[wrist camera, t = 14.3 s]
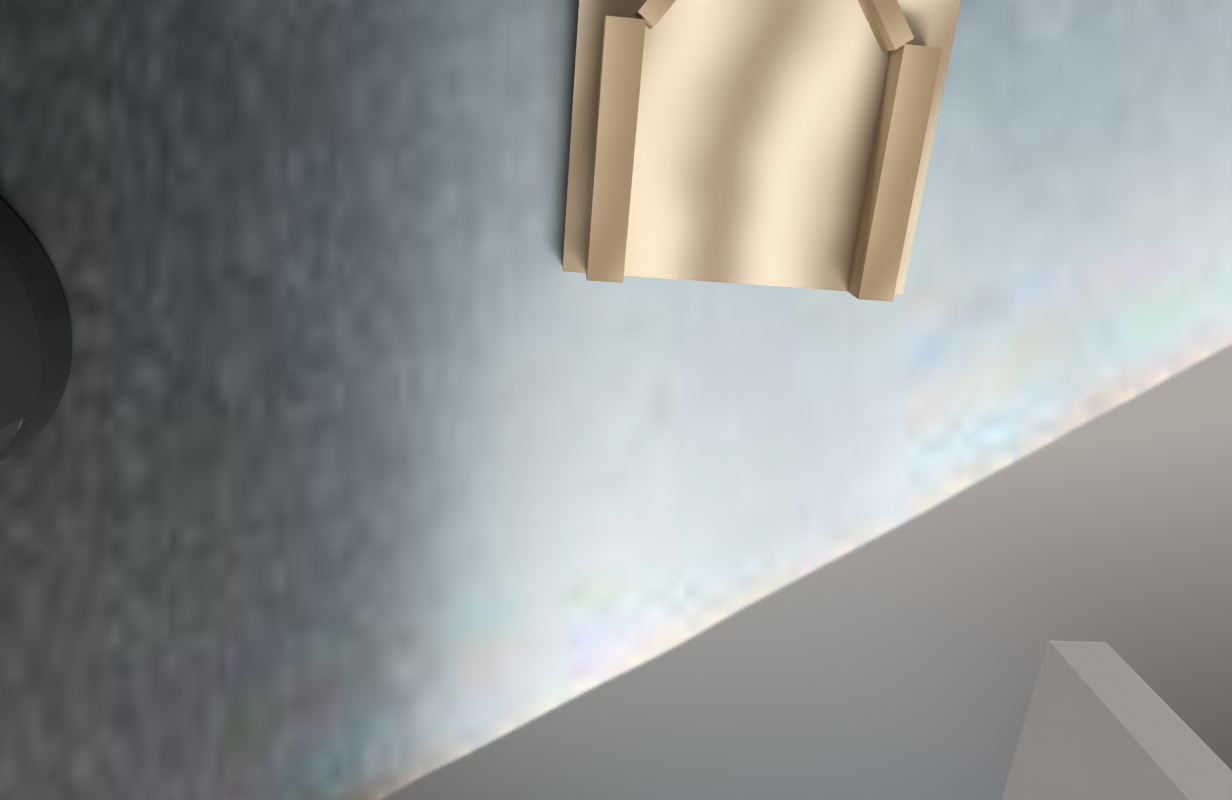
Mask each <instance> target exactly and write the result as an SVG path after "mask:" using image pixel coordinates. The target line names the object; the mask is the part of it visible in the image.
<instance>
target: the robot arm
mask: <svg viewBox="0 0 1232 800" xmlns="http://www.w3.org/2000/svg"><path fill="white" fill-rule="evenodd" d="M71 355H72V336H71V326H70V320H69V314H68V310H67V306H66V302H65V299H64V296H63V293H62V290H61V287H60V284H59V282H58V279H57V277H56V275H55V272H54V270H53V268H52V266H51V264H50V262H49V261H48V259H47V257H46V255H45V254H44V252H43V250H42V249H41V247H40V246H39V244H38V243H37V241H36V240H35V238H34V237H33V235H32V234H31V233H30V231H29V230H28V229H27V227H26V226H25V225H24V224H23V222H22V221H21V220H20V219H19V218H18V217H17V216H16V214H15V213H14V212H13V211H12V210H11V209H10V208H9V207H8V206H7V205H6V204H5V203H4V202H3V201H2V200H1V199H0V462H1V461H2V460H4V459H5V458H7V457H8V456H10V455H11V454H13V453H15V452H16V451H18V450H19V449H21V448H22V447H23V446H24V445H26V444H27V443H28V442H29V441H31V440H32V439H33V438H34V437H35V436H36V435H37V434H38V433H39V432H40V431H41V430H42V428H43V427H44V426H45V425H46V424H47V422H48V421H49V419H50V418H51V417H52V415H53V413H54V412H55V410H56V408H57V406H58V404H59V402H60V400H61V398H62V396H63V393H64V390H65V387H66V384H67V380H68V376H69V371H70V365H71ZM1002 800H1232V771H1231V770H1230V768H1229V767H1228V766H1226V765H1225V764H1224V762H1223V761H1222V760H1221V759H1220V758H1219V757H1218V756H1217V755H1215V753H1214V752H1213V751H1212V750H1211V749H1210V748H1209V747H1208V746H1207V745H1206V744H1205V743H1204V742H1203V741H1202V740H1201V739H1200V738H1199V737H1198V736H1197V735H1196V734H1195V733H1194V732H1193V731H1192V730H1191V729H1190V728H1189V727H1188V726H1187V725H1186V724H1185V723H1184V722H1183V721H1182V719H1181V718H1180V717H1178V715H1176V713H1175V712H1174V711H1173V710H1172V709H1171V708H1170V707H1169V706H1168V705H1167V704H1166V703H1165V702H1164V701H1163V700H1162V699H1161V698H1160V697H1159V696H1158V695H1157V694H1156V693H1155V692H1154V691H1153V690H1152V689H1151V688H1150V687H1149V686H1148V685H1147V684H1146V683H1145V682H1144V681H1143V680H1142V679H1141V678H1140V677H1139V676H1138V675H1137V673H1136V672H1134V670H1133V669H1132V668H1130V666H1129V665H1128V664H1127V663H1126V662H1125V661H1124V660H1123V659H1122V658H1121V657H1120V656H1119V655H1118V654H1117V653H1116V652H1115V651H1114V650H1113V649H1112V648H1111V647H1110V646H1109V645H1108V644H1107V643H1106V642H1081V641H1051V640H1049V641H1048V645H1047V648H1046V651H1045V655H1044V658H1043V661H1042V665H1041V668H1040V672H1039V675H1038V678H1037V682H1036V685H1035V689H1034V692H1033V695H1032V699H1031V702H1030V705H1029V709H1028V712H1027V716H1026V719H1025V722H1024V726H1023V729H1022V732H1021V736H1020V739H1019V742H1018V746H1017V749H1016V753H1015V756H1014V759H1013V763H1012V766H1011V769H1010V773H1009V776H1008V780H1007V783H1006V786H1005V790H1004V793H1003V796H1002Z"/></svg>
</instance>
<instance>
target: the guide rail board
mask: <svg viewBox="0 0 1232 800" xmlns="http://www.w3.org/2000/svg"><path fill="white" fill-rule="evenodd" d="M960 3H961V0H579V9H578V25H577V41H576V57H575V73H574V89H573V105H572V122H571V138H570V154H569V170H568V186H567V202H566V218H565V235H564V251H563V271H566V272H581V273H586V277H587V280H590V281H604V282H619V283H623V278H624V276H638V277H652V278H667V279H681V280H695V281H710V282H724V283H738V284H752V285H767V286H781V287H795V288H810V289H824V290H838V291H848V292H849V293H851V294H852V295H853V296H855V297H856V298H858V299H865V300H879V301H893V298H894V294H896V295H903V290H904V285H905V280H906V275H907V269H908V264H909V259H910V254H911V249H912V244H913V239H914V234H915V229H916V224H917V219H918V214H919V209H920V204H921V199H922V194H923V189H924V184H925V179H926V174H927V169H928V164H929V159H930V154H931V149H932V144H933V139H934V134H935V129H936V124H937V119H938V114H939V109H940V104H941V99H942V94H943V89H944V84H945V79H946V74H947V69H948V64H949V59H950V54H951V49H952V44H953V39H954V34H955V29H956V24H957V19H958V14H959V9H960Z"/></svg>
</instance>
